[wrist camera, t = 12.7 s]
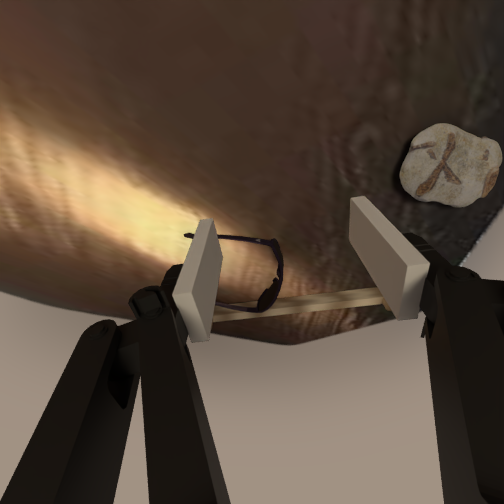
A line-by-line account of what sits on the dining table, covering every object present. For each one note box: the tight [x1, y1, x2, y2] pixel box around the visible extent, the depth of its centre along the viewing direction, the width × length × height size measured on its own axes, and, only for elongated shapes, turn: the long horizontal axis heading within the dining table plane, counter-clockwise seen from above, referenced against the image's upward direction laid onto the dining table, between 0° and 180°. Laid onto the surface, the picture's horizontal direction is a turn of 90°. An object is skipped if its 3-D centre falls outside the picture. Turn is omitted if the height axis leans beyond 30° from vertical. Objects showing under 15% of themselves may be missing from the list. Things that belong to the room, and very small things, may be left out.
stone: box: [400, 123, 502, 207], centre depth 34 cm, size 12×9×3 cm
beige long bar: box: [211, 287, 392, 328], centre depth 46 cm, size 32×6×4 cm, turn 99°
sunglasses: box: [184, 233, 284, 313], centre depth 43 cm, size 14×16×5 cm
